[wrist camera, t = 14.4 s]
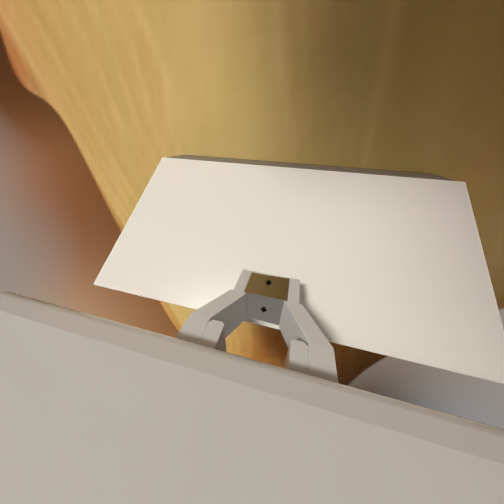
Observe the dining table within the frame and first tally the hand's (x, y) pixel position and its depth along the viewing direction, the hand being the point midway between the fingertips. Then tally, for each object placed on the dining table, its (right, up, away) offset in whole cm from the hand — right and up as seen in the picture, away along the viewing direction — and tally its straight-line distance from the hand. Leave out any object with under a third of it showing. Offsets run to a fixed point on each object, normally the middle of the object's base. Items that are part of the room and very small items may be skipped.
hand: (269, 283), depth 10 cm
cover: (+1, +3, +3) cm, 4 cm away
